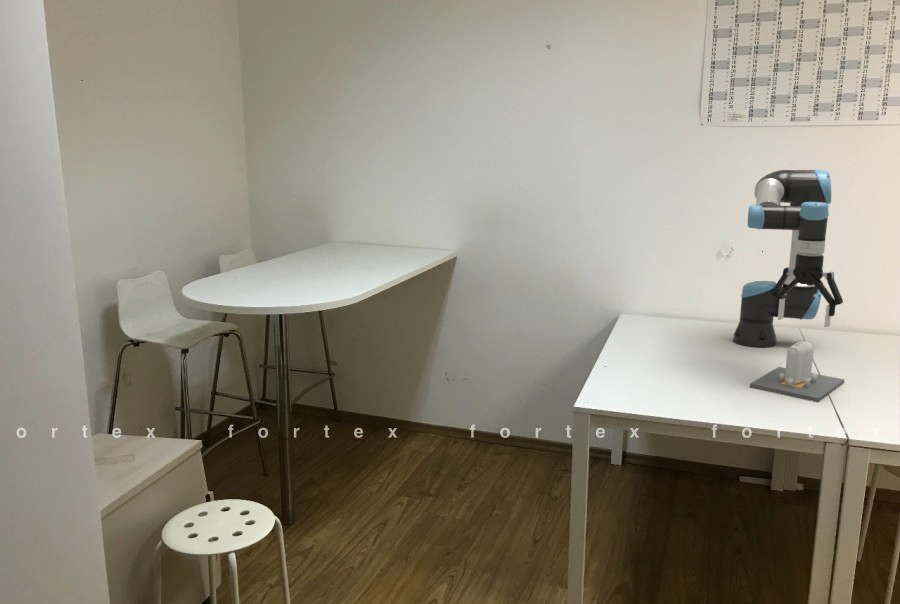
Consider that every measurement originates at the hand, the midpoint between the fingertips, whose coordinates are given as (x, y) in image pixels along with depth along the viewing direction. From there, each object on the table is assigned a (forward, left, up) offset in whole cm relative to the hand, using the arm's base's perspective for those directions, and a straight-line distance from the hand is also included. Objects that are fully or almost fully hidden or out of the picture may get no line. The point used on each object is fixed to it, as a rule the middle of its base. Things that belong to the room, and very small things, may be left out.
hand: (803, 322), depth 224 cm
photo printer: (0, 0, -19) cm, 19 cm away
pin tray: (0, 0, -20) cm, 20 cm away
